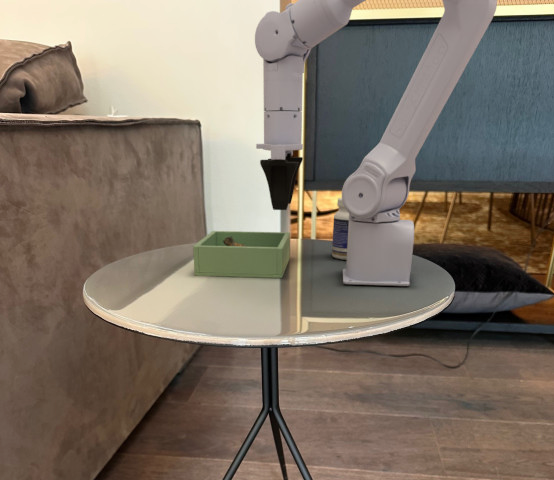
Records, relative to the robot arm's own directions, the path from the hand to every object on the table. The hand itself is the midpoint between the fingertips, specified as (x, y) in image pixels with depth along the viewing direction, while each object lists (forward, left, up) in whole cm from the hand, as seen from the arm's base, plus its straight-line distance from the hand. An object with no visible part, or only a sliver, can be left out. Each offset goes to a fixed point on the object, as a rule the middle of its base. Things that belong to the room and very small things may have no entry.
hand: (282, 206), depth 84 cm
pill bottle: (-11, -7, -10) cm, 16 cm away
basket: (+6, +2, -9) cm, 11 cm away
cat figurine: (+6, +2, -9) cm, 11 cm away
